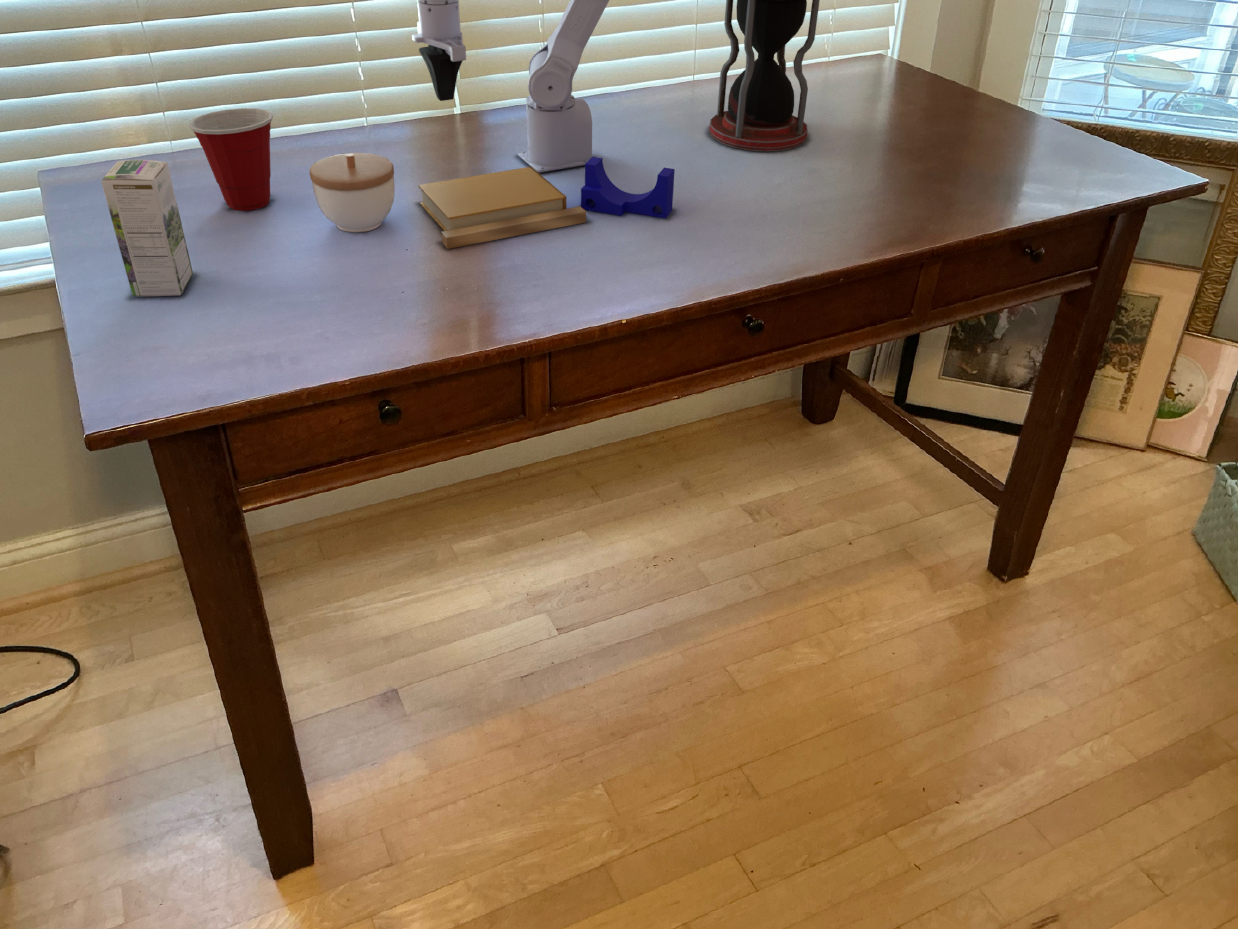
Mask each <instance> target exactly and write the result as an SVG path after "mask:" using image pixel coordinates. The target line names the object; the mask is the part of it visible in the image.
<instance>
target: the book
mask: <svg viewBox="0 0 1238 929" xmlns="http://www.w3.org/2000/svg"><path fill="white" fill-rule="evenodd" d="M418 188H419V189H420V190H421V197H422V201H420V202H419V205H420V206H421V207H422V208H423V209H424V210H425V211H426V213H427V214H428V215H429V216H430V217H431V218H432V219H433V221H435V223H437V225H438V226H439V227H440V229H442V230H443V232H444V231H449V230H454V229H460V228H465V227H471V226H476V225H481V224H487V223H492V222H498V221H503V220H509V219H514V218H519V217H525V216H530V215H536V214H541V213H546V212H552V211H557V210H563V209H567V196H566V195H565V194H564V193H563V192H562V191H560V190H559V189H558V188H557V187H556V186H555V185H553V184H552V182H550V181H549V180H548V179H546V178H545V176H543V175H542V174H541V173H540V172H537V171H536V170H535V169H533V168H532V167H531V166H525V167H519V168H514V169H507V170H502V171H495V172H489V173H484V174H478V175H472V176H466V177H459V178H453V179H452V178H451V179H447V180H442V181H441V180H440V181H436V182H429V183H423V184H418Z"/></svg>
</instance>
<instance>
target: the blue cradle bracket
mask: <svg viewBox="0 0 1238 929" xmlns="http://www.w3.org/2000/svg"><path fill="white" fill-rule="evenodd" d="M655 182H656V183H655V185H654V187H653V188H652V189H650V190H649V191H647V192H643V193H630V192H627V191H624V190H622V189H621V188H619V187H618V186H616V185H615V183H614V182H612V181H611V179H610V178H609V176H608V175H607V172H606V170H605V167H604V160H603V157H598V156H592V158H590V159H589V160H588V161H587V162H586V163H585V165H584V185H583V186H582V187H581V188H580V207H581V208H583V209H584V210H585V211H589V212H595V213H602V214H607V215H613V216H619V217H622V216H623V215H624V214H625V213H630V214H636V215H640V216H641V215H642V216H647V217H654V218H659V219H667V218H668V217H669V215H670V214H671V213H672V211H673V206H674V205H673V204H674V203H673V202H674V188H675V187H674V186H675V185H674V184H675V168H670V167H663V168H662V169H661V170H660V172H659V173H658V174H657V176H656V181H655Z"/></svg>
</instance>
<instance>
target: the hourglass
mask: <svg viewBox="0 0 1238 929" xmlns="http://www.w3.org/2000/svg"><path fill="white" fill-rule="evenodd" d="M725 2H726V3H725V10H724V12H725V13H724V22H723V23H724V29H725V33H726V35H727V37H728V39H729V41H730V53H729V56H728V59H727V61H725V62H724V64H723V65H722V68H721V70H720V73H719V86H718V96H717V97H718V100H717V109H716V110H717V112H716V114H715V115H714V116H712V118H711V119H710V121H709V135H710V136H711V137H712V139H713V140H715V141H717V142H719V143H720V144H723V145H724V146H729V147H730V148H731V147H732V148H734V149H738V150H746V151H751V152H753V151H754V152H780V151H781V152H782V151H787V150H791V149H794V148H796V147H798V146H801V145H803V144H804V143H805V141H806V140H807V139H808V132H809V129H808V124H807V123H805V114H806V106H807V101H808V100H807V99H808V91H809V88H808V82H807V81H808V80H807V78H806V77H805V75H804V73H803V61H804V58H805V54H806V53H807V52H808V51H809V50H810V49H811V48H812V47H813V44H814V42H815V39H816V32H817V23H818V15H819V9H820V0H812V1H811V9H810V16H809V23H808V24H809V25H808V31H807V38H806V40H805V41H804V44H803V45H802V46H801V47H800V48H799V49H798V50H796V54H795V56H794V59H793V61H792V63H793V74H794V76H795V77H796V78H797V81H798V84H799V88H800V93H799V100H798V110H797V116H795V115H793V114H794V112H795V111H794V109H795V90H794V88H793V84H792V82H791V80H790V78H789V77H788V76H787V74H786V73H787V61H786V58H785V57H786V56H785V55H786V54H785V53H786V46H787V44H788V43H789V42H790V41H791V40H792V39H794V37H795V36H796V35H797V34H798V33H799V31H800V29H801V28H802V26H803V24H804V22H805V18H806V14H807V6H808V1H807V0H736V9H735V10H736V21H737V24H738V27H739V30H740V31H741V33H742V34H743V36H744V39H743V46H744V53H745V69H744V70H743V71H742V72H741V73H740V74H739V75H738V76H737V77H736V78H735V80H734V81H733V83H732V84H731V87H730V90H729V94H728V101H727V110H725V104H726V91H727V80H728V79H727V78H728V73H729V71H730V69H731V67H732V66H733V65H734V64H735V63H736V62H737V59H738V56H739V53H740V45H739V38H738V37H737V35H736V33H735V32H734V27H733V23H732V22H733V9H734V0H726V1H725ZM754 51H755V52H756V53H757V58H756V59H755V52H754ZM775 55H776V60H777V61H776V60H775Z"/></svg>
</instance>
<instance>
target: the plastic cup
mask: <svg viewBox="0 0 1238 929" xmlns="http://www.w3.org/2000/svg"><path fill="white" fill-rule="evenodd" d="M273 116H274V113H273V112H272V111H270V110H268V109H263V108H255V107H254V108H251V107H250V108H249V107H241V108H230V109H229V108H228V109H223V110H217V111H211V112H209V113H205V114H201V115H198V116H196V117H194V118H192V119H191V120H190V121H189V123H188V124H187V126H188V128H189V129H190V130H191V131H192V132H193V133H194V135H195V137H196V139H197V140H198V142H199V145H200V146H201V148H202V150H203V152H204V155H205V157H206V159H207V162H208V164H209V167H210V169H211V172H212V173H213V177H214V179H215V181H216V183H217V185H218V187H219V189H220V192H221V194H222V197H223V200H224V202H225V203H226V205H227V206H228V207H229V209H232V210H234V211H242V212H243V211H244V212H245V211H255V210H259V209H262V208H264V207H266V206H268V204H270V201H271V200H270V199H271V176H272V175H271V174H272V173H271V171H272V170H271V128H272V127H271V124H272V121H273Z"/></svg>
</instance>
